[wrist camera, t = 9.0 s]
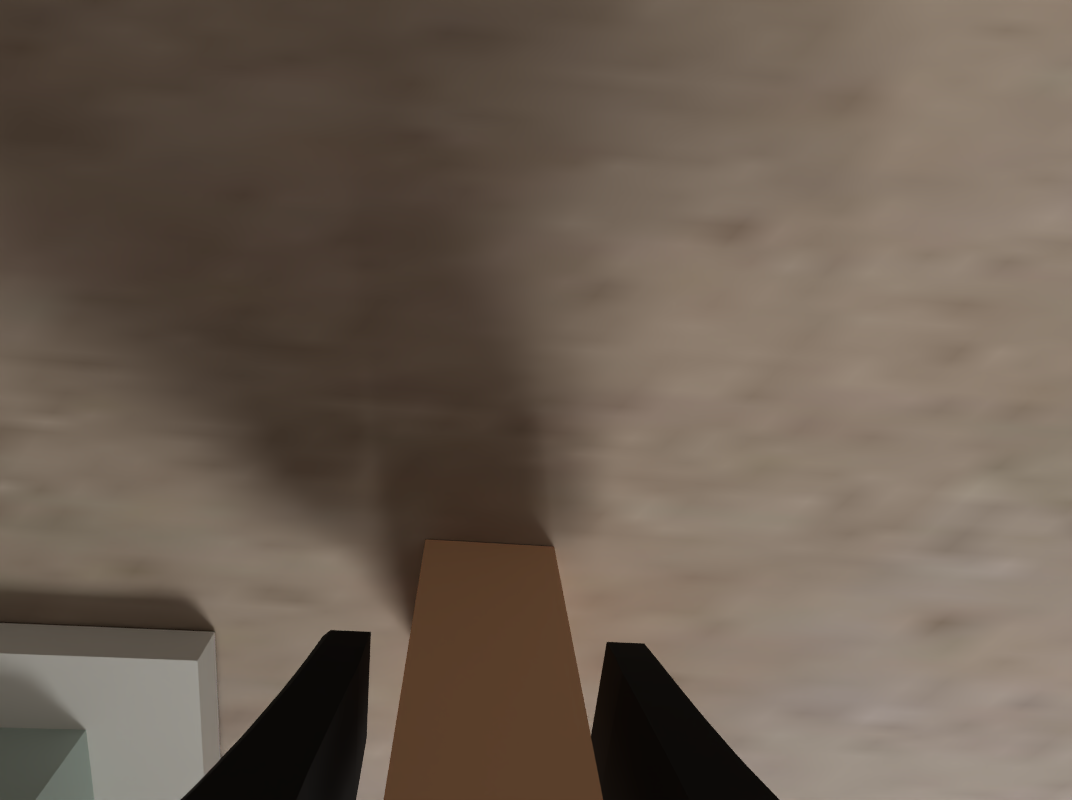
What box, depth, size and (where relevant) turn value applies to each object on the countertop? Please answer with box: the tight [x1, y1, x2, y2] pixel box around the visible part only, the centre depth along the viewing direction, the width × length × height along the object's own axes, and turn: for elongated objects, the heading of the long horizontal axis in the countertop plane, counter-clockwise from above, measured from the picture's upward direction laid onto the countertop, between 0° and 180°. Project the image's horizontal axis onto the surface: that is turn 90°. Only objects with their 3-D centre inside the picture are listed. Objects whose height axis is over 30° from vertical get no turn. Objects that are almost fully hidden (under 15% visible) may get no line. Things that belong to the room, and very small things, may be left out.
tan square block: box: [384, 539, 603, 800], centre depth 10 cm, size 2×2×6 cm
